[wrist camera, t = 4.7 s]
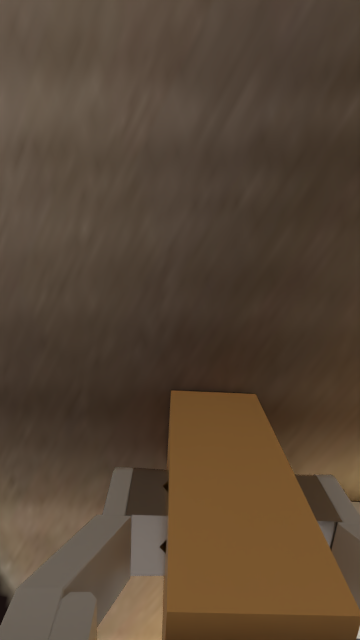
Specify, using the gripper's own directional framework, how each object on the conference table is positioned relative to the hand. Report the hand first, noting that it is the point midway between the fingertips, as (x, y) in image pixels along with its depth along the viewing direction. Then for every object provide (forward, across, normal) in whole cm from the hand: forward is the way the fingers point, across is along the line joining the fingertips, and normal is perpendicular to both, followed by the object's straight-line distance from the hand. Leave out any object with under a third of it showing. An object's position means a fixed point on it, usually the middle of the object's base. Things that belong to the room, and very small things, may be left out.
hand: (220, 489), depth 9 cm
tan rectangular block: (+3, 0, 0) cm, 3 cm away
